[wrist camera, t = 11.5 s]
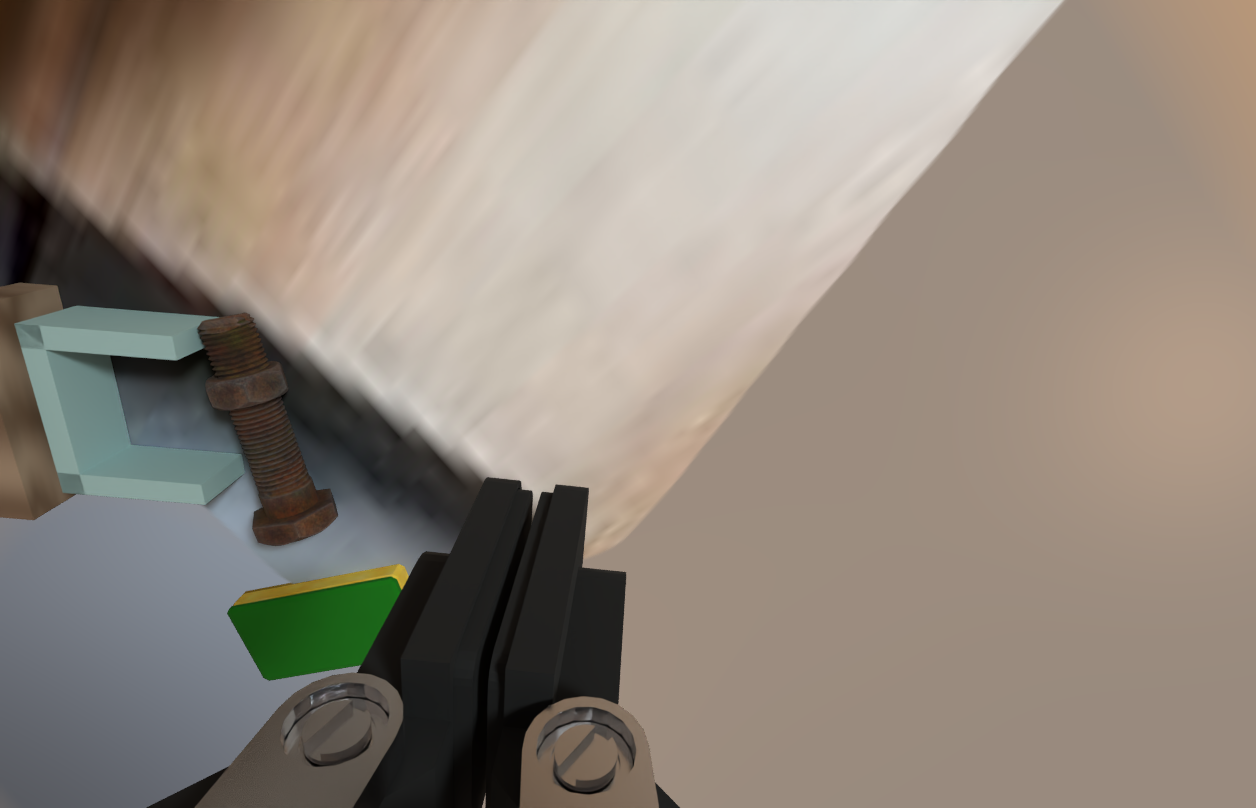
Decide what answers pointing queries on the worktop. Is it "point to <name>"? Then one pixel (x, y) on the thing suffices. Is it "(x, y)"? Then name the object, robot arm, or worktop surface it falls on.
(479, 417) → the worktop surface
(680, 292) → the worktop surface
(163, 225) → the worktop surface
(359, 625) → the dish sponge
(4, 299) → the wooden plank
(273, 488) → the bolt
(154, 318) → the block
